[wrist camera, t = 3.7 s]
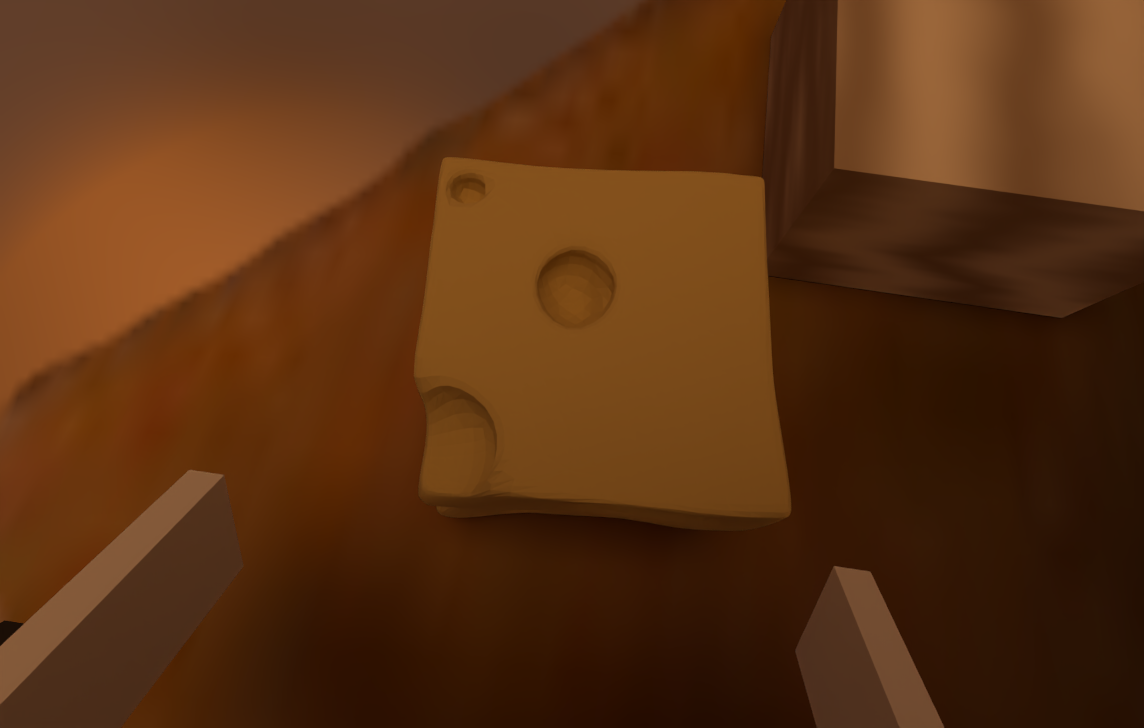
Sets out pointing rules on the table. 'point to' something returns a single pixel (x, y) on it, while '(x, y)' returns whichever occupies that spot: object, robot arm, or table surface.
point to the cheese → (600, 347)
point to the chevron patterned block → (958, 149)
